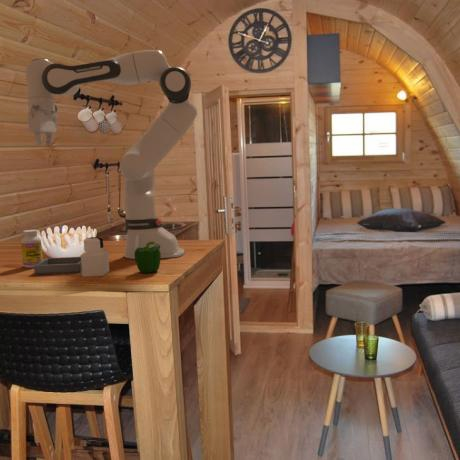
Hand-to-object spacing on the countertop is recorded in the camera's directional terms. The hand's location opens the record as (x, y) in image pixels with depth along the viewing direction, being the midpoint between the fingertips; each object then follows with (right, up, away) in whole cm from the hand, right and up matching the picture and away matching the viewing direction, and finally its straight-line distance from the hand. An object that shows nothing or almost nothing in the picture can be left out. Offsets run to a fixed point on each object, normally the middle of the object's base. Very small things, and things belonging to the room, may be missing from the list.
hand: (44, 145), depth 199 cm
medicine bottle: (+23, -45, -20) cm, 54 cm away
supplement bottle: (-3, -44, -2) cm, 44 cm away
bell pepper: (+40, -44, -20) cm, 63 cm away
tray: (+10, -44, -10) cm, 46 cm away
